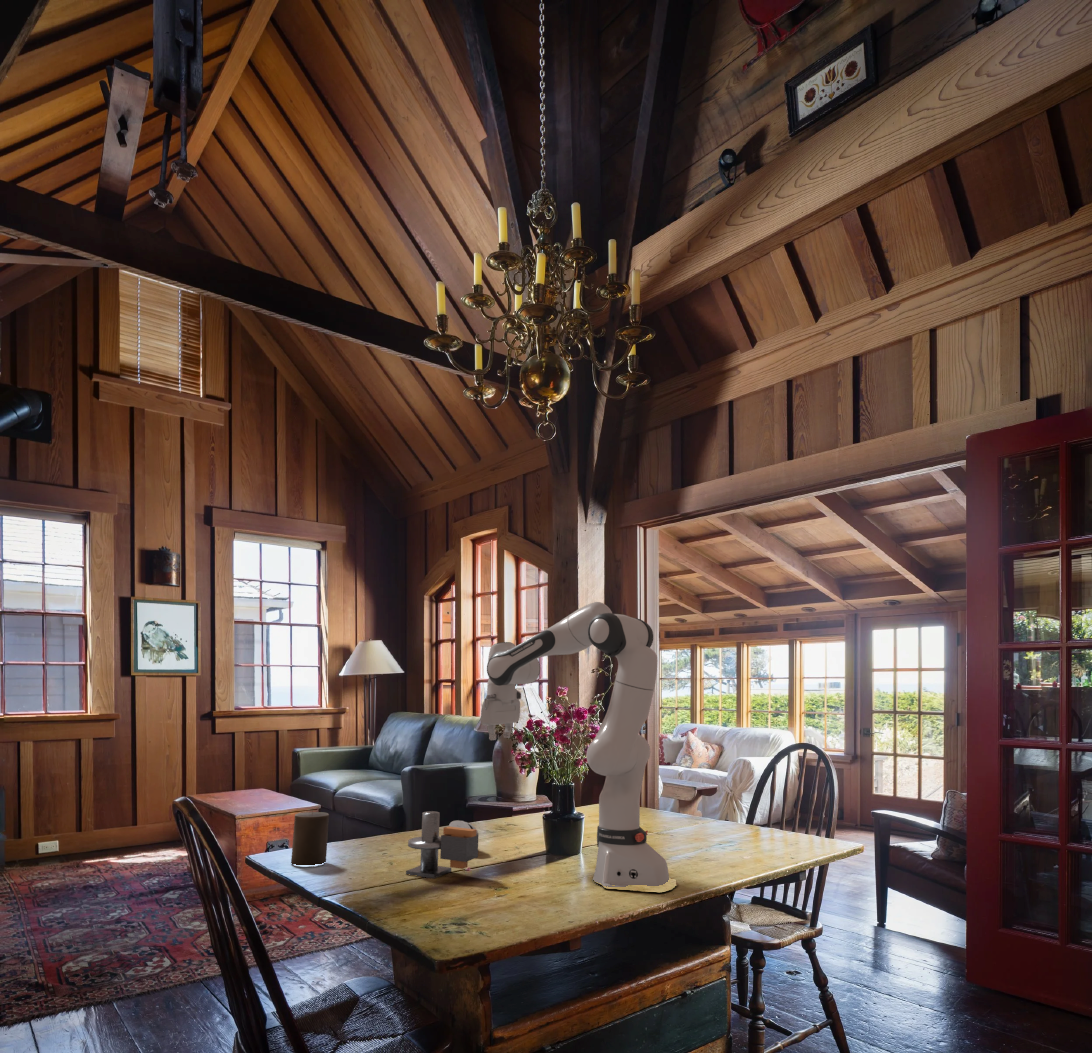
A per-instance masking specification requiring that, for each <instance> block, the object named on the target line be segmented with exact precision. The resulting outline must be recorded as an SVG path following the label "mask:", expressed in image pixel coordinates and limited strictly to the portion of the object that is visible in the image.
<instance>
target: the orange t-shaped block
mask: <svg viewBox="0 0 1092 1053" xmlns="http://www.w3.org/2000/svg"><path fill="white" fill-rule="evenodd" d="M442 830H443V832H442V833H443V834H442V835H444V834H448V835H451V836H457V837H474V836H476V832H477V831H478V830H477V828H476V829H467V828H458V827H449V825H448V826H445V827H443V829H442ZM449 861H450V862H449V864H450V865H449V867H450V868H451V869H452V868H453V869H460V870H461V869H462V870H463V869H465V868H468V866H469V865H468V862H469V861H467V862H462V861H455V860H449Z"/></svg>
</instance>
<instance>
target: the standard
mask: <svg viewBox="0 0 1092 1053" xmlns="http://www.w3.org/2000/svg"><path fill="white" fill-rule="evenodd" d="M440 813H441V812H439V811H433V810H431V811H424V812H422V813H421V814H422V816H421V817H422V818H421V836H416V837H413V838H410V839H408V841H407V846H408V847H409V848H410V849H414V850H420V862H419V863H420V865H418V866H415V867H413V868H411V869H408V870H406V871H405V875H406V874H410V875H409V876H411V875H417V876H416V877H418V876H421V877H420V878H425V877H426V879H433V880H435V879H437V878H440V877H442V876H444V875H446V874H449V873H451V872H452V867H450V866H449V867H447V866H440V865H439V856H440V860H447V861H448V860H449V861H450V860H455V861H462V862H467V861H468V862H469V861H472V860H474V859H477V858H478V857H479V833H478V834H476V836H474V837H457V836H451V835H448V834H441V836H440V819H441V818H440V817H441V816H440ZM439 850H440V853H439Z"/></svg>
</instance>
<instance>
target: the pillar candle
mask: <svg viewBox="0 0 1092 1053" xmlns="http://www.w3.org/2000/svg"><path fill="white" fill-rule="evenodd" d="M329 819H330V814H329V813H328V812H324V811H323V812H322V811H321V812H319V811H313V809H311V811H309V812H308V811H306V812H298V813H295V814H294V822H293V823H294V824H293V837H292V847H291V848H292V849H291V859H290V860H291V862H290V864H291V863H292V864H296V865H315V864H322V863H324V862H326V863H327V853H328V852H327V850H328V836H329V834H328V832H329ZM292 864H291V865H292Z"/></svg>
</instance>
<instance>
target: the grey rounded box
mask: <svg viewBox="0 0 1092 1053" xmlns="http://www.w3.org/2000/svg"><path fill="white" fill-rule="evenodd" d="M448 824H449V825H448V826H449V827H458V828H467V829H476V830H477V828H476V827H475V826H474V825H472V823H469V822H467V821H464V820H459V819H458V820H453V821H451V822H450V823H448ZM476 834H478V835H479V832H478V830H477V832H476Z"/></svg>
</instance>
